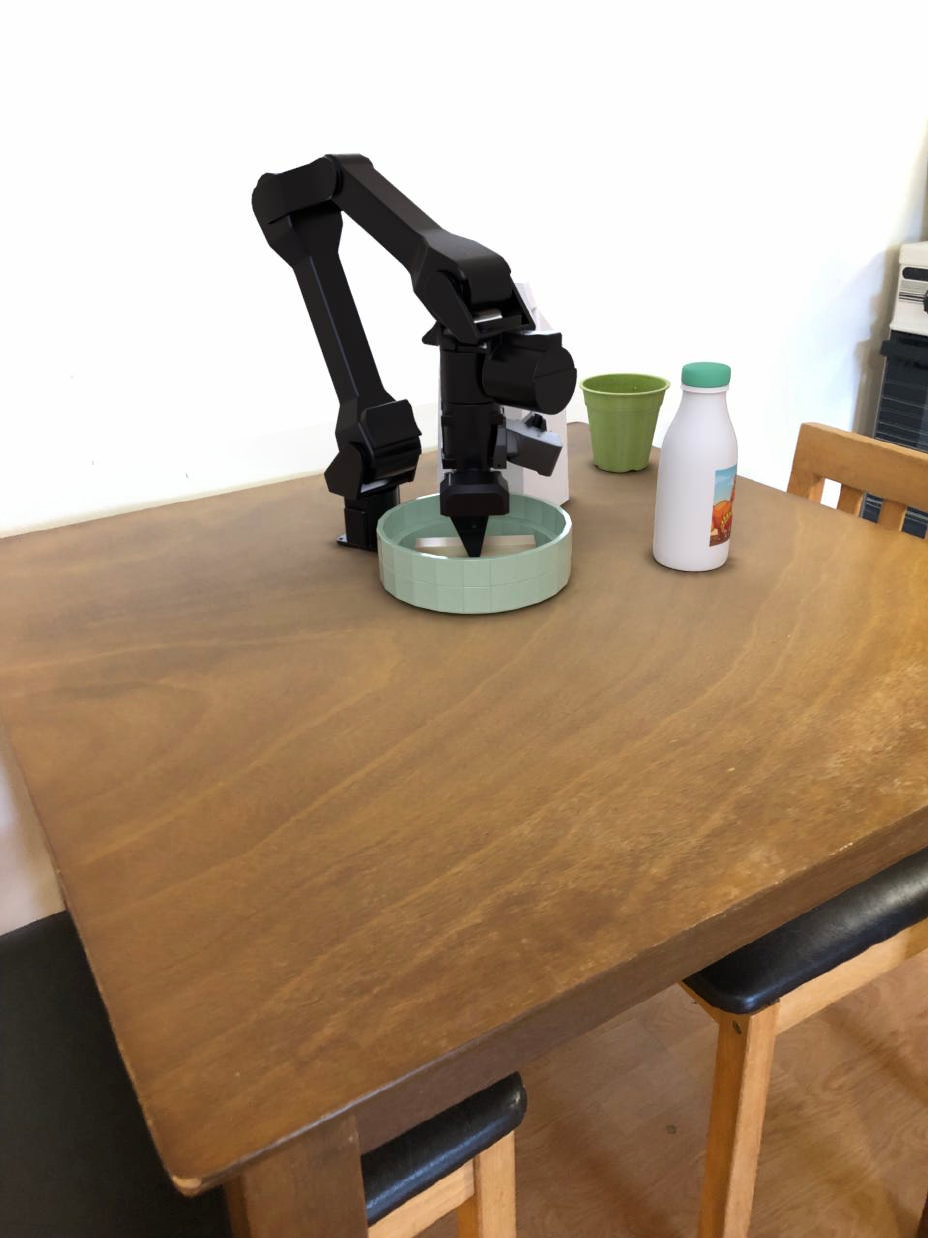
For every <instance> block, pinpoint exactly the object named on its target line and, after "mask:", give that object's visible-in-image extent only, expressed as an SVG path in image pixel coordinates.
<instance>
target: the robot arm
mask: <svg viewBox="0 0 928 1238" xmlns="http://www.w3.org/2000/svg"><path fill="white" fill-rule="evenodd" d="M250 201H251V203H250V204H251V208H252V209H251V210H252V212H253V214H254V217H255V219H256V221H257V223H258V226H259V228H260V230H261V233H262V235H263V237H264V239H265V241H266V243H267V245H268V247H270V249H272V251H273V252H274V253H275V254H276V255H278V257H280V258H281V259H282V260H283V261H284V262H285V263H286V264H287V265H288V266H289V267H290V268H291V270H292V271H293V273H294V276H295V279H296V282H297V285H298V287H299V290H300V293H301V296H302V299H303V302H304V305H305V309H306V311H307V314H308V316H309V319H310V323H311V325H312V328H313V331H314V333H315V336H316V340H317V342H318V345H319V348H320V351H321V355H322V357H323V360H324V363H325V366H326V368H327V372H328V374H329V377H330V380H331V383H332V385H333V389H334V391H335V394H336V397H337V400H338V404H339V407H338V411H337V418H336V424H335V429H334V437H335V441H336V445H337V450H338V452H337V453H336V455H335V457H334V458H333V460H332V461H331V462H330V464H329V465H328V466H327V468H326V469H325V471H324V472H323V477H324V480H325V483H326V487H327V490H328V492H329V493H331V494H333V495H337V496H340V497H342V498H343V504H344V508H343V516H344V528H345V533H344V534H342V535H341V536H339V537H337V538H336V541H335V542H336V544H338V545H343V546H346V547H347V546H348V547H352V548H357V549H362V550H367V551H372V552H376V553H378V542H377V525H378V520H379V519H380V518H381V517H382V516H383V515H384V514H385V513H386V512H387V511H388V510H390V509H392V508H394V507H395V506H397V505H399V504H401V489H400V486H402V485H404V484H407V483H409V484H410V483H413V482H414V480H415V477H416V472H417V468H418V463H419V460H420V456H421V455H422V453H423V450H422V449H423V446H422V443H421V438H420V437H421V436H423V432H422V431H421V429H420V428H419V426H418V424H417V421H416V419H415V415H414V410H413V406H412V404H411V403H410V401H409V400H408V399H407V398H402V399H399V400H397V399H396V398H395V397H394V396H393V395H392V394H390V392H388V390H387V389H386V388H385V386H384V384H383V381H382V377H381V374H380V371H379V368H378V366H377V363H376V360H375V357H374V354H373V351H372V347H371V345H370V342H369V339H368V337H367V333H366V330H365V327H364V325H363V321H362V318H361V316H360V312H359V309H358V307H357V304H356V303H357V302H356V301H355V298H354V295H353V292H352V289H351V286H350V283H349V280H348V277H347V275H346V274H347V273H346V271H345V268H344V265H343V263H342V259H341V255H340V247H341V242H342V236H343V231H344V226H345V221H344V217H343V213H345V214H346V215H347V216H348V217H349V218H350V219H351V220H352V221H353V222H354V223H355V224H356V225H357V226H359V227H360V228H361V229H362V230H363V231H364V232H366V234H368V236H370V237H371V238H372V239H373V241H374V242H376V243H377V244H378V245H379V246H381V248H383V249H384V250H385V251H386V252H387V253H388V254H389V255H390V256H391V257H393V259H394V260H396V261H397V262H398V263H399V264H400V265H401V266H402V267H403V268H404V269H405V271H406V272H407V273H408V274H409V276H410V283H411V288H412V292H413V293H414V295H415V296H416V298H417V299H418V301H419V302H420V303H421V304H422V306H423V307H424V308H425V309H426V311H427V312H428V313H429V314H430V316H431V317H432V318H433V320H434V321H435V322H434V324H433V326H432V327H431V328H430V329H429V330H428V331H426V332H425V333H424V335H423V336H421V342H422V344H423V345H426V346H432V347H438V371H439V370H440V397H441V426H442V440H441V459H442V466H443V469H451V472H444V473H443V477H442V482H441V483H440V515H442V516H445V517H450V519H451V521H452V523H453V525H454V527H455V529H456V531H457V533H458V535H459V537H460V539H461V541H462V543H463V545H464V547H465V550H466V552H467V554H468V556H469V557H470V558H479V557H480V555H481V551H482V546H483V542H484V537H485V532H486V528H487V523H488V519H489V516H496V515H506V514H508V513H510V493H509V487H508V481H507V480H506V479H504V478H503V477H502V472H501V471H497V470H493V471H491V468H493V469H507V461H508V462H510V463H512V464H515V465H518V466H521V467H524V468H527V469H530V470H533V471H536V472H538V474H539V475H542V476H546V477H550V476H551V475H552V473H553V470H554V468H555V465H556V463H557V460H558V458H559V455H560V452H561V450H562V447H563V445H562V442H561V439H560V437H559V436H558V435H556V434H555V432H554V431H552V430H551V431H547V425H546V419H545V416H544V415H542V414H547V415H556V414H558V413H560V412H561V411H563V410H564V409H565V407H566V408H567V407H568V405H569V404H570V402H571V400H572V398H573V396H574V393H575V390H576V387H577V383H578V382H577V381H578V369H577V367H576V365H575V361H574V359H573V355H572V354H571V352H570V351H569V350H568V349H567V348H565V347H564V346H563V347H562V345H563V334H562V332H561V331H557V330H556V331H555V330H554V331H546V332H538V331H535V330H536V325H535V323H534V321H533V319H532V317H531V315H530V313H529V310H528V309H527V307H526V305H525V303H524V301H523V299H522V297H521V295H520V293H519V291H518V289H517V287H516V286H515V284H514V282H513V281H514V280H513V278H512V275H511V274H512V268H511V267H510V265H509V263H508V261H507V260H506V259H505V258H504V256H502V255H501V254H499V253H498V252H496V251H494V250H493V249H491V248H489V247H487V246H485V245H483V244H482V243H480V242H478V241H477V240H474V239H471V238H467V237H465V236H462V235H459V234H456V233H452V232H450V231H448V230H447V229H445V228H443V227H442V226H441V225H440V224H439V223H437V221H435V220H434V219H433V218H432V217H431V216H429V215H428V214H427V213H426V212H425V211H424V210H423V209H422V208H421V207H419V206H418V205H417V204H416V203H415V202H413V200H412V199H410V198H409V197H408V196H407V195H406V194H405V193H403V192H402V191H401V190H400V189H399V188H397V187H396V186H395V184H393V183H392V182H390V181H389V179H387V178H386V177H385V176H384V175H383V174H382V173H381V172H380V171H378V170H377V169H376V168H375V166H374V164H373V162H372V160H371V159H370V158H369V157H368V156H366V155H363V154H362V153H360V152H351V153H349V152H348V153H347V152H346V153H345V152H344V153H325V154H324V155H322V156H321V157H318V158H316V159H314V160H313V161H311V162H309V163H307V164H303V165H300V166H298V167H294V168H292V169H288V170H285V171H269V172H265V173H263V174H261V175H260V177H259V178H258V180H257V181H256V185H255V187H254V189H252V193H251V200H250ZM499 315H501V316H502V318H497V319H492V320H487V321H482V322H477V323H475V322H474V321H479V320H484V319H489V318H494V317H497V316H499ZM504 406H508V407H513V408H518V409H523V410H528V411H531V412H530V413H528V414H527V415H526V416H525V417H524V418H523V419H522V420H521V421H520V420H518V419H516V421H514V420H511V419H507V418H506V414H504ZM536 412H537V413H536ZM539 413H542V414H539Z"/></svg>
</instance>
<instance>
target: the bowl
mask: <svg viewBox="0 0 928 1238" xmlns="http://www.w3.org/2000/svg"><path fill="white" fill-rule="evenodd" d="M509 493H510V513H508V514H506V515H496V516H489V519H488V523H487V528H486V532H485V536H513V535H534V538H535V543H536V548H535V549H531V550H527V551H523V552H520V553H516V554H510V555H502V556H495V557H479V558H458V557H445V556H436V555H431V554H426V553H421V552H416V551H415V539H416V538H441V537H459V535H458V533H457V531H456V529H455V527H454V525H453V523H452V521H451V519H450V517H445V516H442V515H440V493H437V492H436V493H432V494H428V495H424V496H419V497H416V498H413V499H410V500H407V501H405V502H400V504H399V505H397V506H395V507H394V508H392V509H390V510H388V511H387V512H386V513H385V514H384V515H383V516H382V517H381V518H380V519H379V520H378V525H377V542H378V552H377V554H378V567H379V579H380V581H381V584H382V585H383V588H384V590H386V591H387V592H388V593H389V594H391V595H392V596H393V597H394V598H395V599H397V600H400V601H402V602H405V603H407V604H409V605H412V606H415V607H417V608H422V609H426V610H431V611H434V612H435V611H436V612H440V613H441V612H442V613H447V614H449V613H450V614H459V615H460V614H461V615H482V614H483V615H485V614H495V613H502V612H503V613H504V612H508V611H514V610H518V609H521V608H525V607H528V606H531V605H534V604H538V603H542V602H543V601H545V600H547V599H549V598H551V597H553V596H555V595H557V594H558V593H559V592H560V591H561V590H562V589H563V588H564V587H566V586H567V584H568V582H569V580H570V577H571V573H572V550H573V549H572V547H573V546H572V545H573V544H572V543H573V522H572V519H571V515H570V514H569V513H568V512H567V511H566V510H564V508H562V507H561V505H560V506H558V505H556V504H554V503H552V502H550V501H548V500H545V499H541V498H538V497H534V496H531V495H527V494H520V493H514V492H509Z"/></svg>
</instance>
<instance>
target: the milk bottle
mask: <svg viewBox="0 0 928 1238" xmlns="http://www.w3.org/2000/svg"><path fill="white" fill-rule="evenodd" d="M680 373H681V374H680V381H681V385H680V389H681V390H682V395H681V400H680V403H679V405H678V407H677V410H676V412H675V414H674V417H673V418H672V420H671V422H670V424H669V426H668V428H667V429H666V432H665V434H664V436H663V440H662V443H661V448H660V453H659V462H658V471H657V481H656V482H657V483H656V484H657V485H656V495H655V510H654V522H653V527H654V528H653V540H652V554H653V557H654V560H656V562H658V563H659V564H660V565H663V566H664V567H667V568H670V569H674V570H678V571H686V572H704V571H711V570H714V569H718V568H720V567H722V566H723V565H724V564H725V563H726V561H727V560H728V557H729V548H730V544H731V543H730V542H731V532H732V524H733V514H734V507H735V506H734V504H735V495H736V487H737V486H736V484H737V476H738V461H739V460H738V459H739V446H738V439H737V435H736V431H735V428H734V425H733V422H732V420H731V416H730V414H729V409H728V403H727V393H728V391H729V390H730V383H731V379H732V367H731V366H730V365H728V364H725V363H721V362H716V361H695V362H689V363H685V365H683V366H682V368H681V372H680Z"/></svg>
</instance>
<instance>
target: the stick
mask: <svg viewBox="0 0 928 1238" xmlns="http://www.w3.org/2000/svg"><path fill="white" fill-rule="evenodd" d="M535 548H536V543H535V538H534V535H513V536H485V537H484V542H483V546H482V551H481V555H480V557H495V556H502V555H510V554H516V553H520V552H523V551H527V550H531V549H535ZM415 551H416V552H421V553H426V554H431V555H436V556H445V557H458V558H470V557H469V556H468V554H467V552H466V550H465V547H464V545H463V543H462V541H461V539H460V537H441V538H416V539H415Z"/></svg>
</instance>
